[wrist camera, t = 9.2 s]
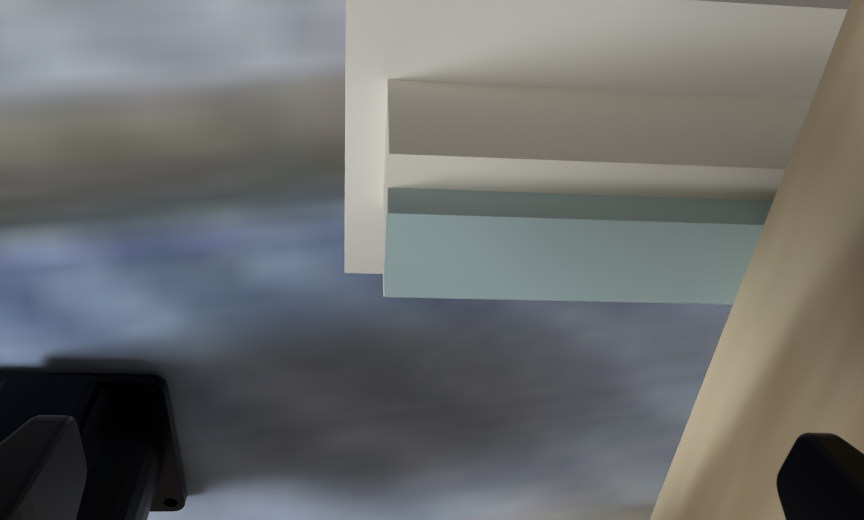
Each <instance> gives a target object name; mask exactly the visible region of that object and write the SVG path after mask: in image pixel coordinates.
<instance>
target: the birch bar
mask: <svg viewBox="0 0 864 520" xmlns="http://www.w3.org/2000/svg"><path fill="white" fill-rule="evenodd" d="M807 432H812V433H832V434H835V435H838V436H839V437H841V438H842V439H844V440H845V441H846V442H848V443H849V444H851V445H852V446H853V447H855V448H856V449H858V450H859V451H860V452H862V453H863V454H864V0H851V2H850V4H849V7H848V10H847V12H846V15H845V17H844V20H843V23H842V25H841V28H840V30H839V33H838V35H837V38H836V41H835V43H834V46H833V48H832V51H831V53H830V56H829V59H828V61H827V64H826V66H825V69H824V72H823V74H822V77H821V79H820V82H819V84H818V87H817V90H816V92H815V95H814V97H813V100H812V102H811V105H810V108H809V110H808V113H807V115H806V118H805V120H804V123H803V126H802V128H801V131H800V133H799V136H798V139H797V141H796V144H795V146H794V149H793V151H792V154H791V157H790V159H789V162H788V164H787V167H786V169H785V172H784V175H783V177H782V180H781V182H780V185H779V188H778V190H777V193H776V195H775V198H774V200H773V203H772V206H771V208H770V211H769V213H768V216H767V218H766V221H765V224H764V226H763V229H762V231H761V234H760V237H759V239H758V242H757V244H756V247H755V249H754V252H753V255H752V257H751V260H750V262H749V265H748V267H747V270H746V273H745V275H744V278H743V280H742V283H741V285H740V288H739V291H738V293H737V296H736V298H735V301H734V304H733V306H732V309H731V311H730V314H729V316H728V319H727V322H726V324H725V327H724V329H723V332H722V334H721V337H720V340H719V342H718V345H717V347H716V350H715V352H714V355H713V358H712V360H711V363H710V365H709V368H708V371H707V373H706V376H705V378H704V381H703V383H702V386H701V389H700V391H699V394H698V396H697V399H696V401H695V404H694V407H693V409H692V412H691V414H690V417H689V419H688V422H687V425H686V427H685V430H684V432H683V435H682V438H681V440H680V443H679V445H678V448H677V450H676V453H675V456H674V458H673V461H672V463H671V466H670V468H669V471H668V474H667V476H666V479H665V481H664V484H663V487H662V489H661V492H660V494H659V497H658V499H657V502H656V505H655V507H654V510H653V512H652V515H651V517H650V520H786V518H785V515H784V512H783V509H782V506H781V502H780V499H779V496H778V492H777V485H776V481H777V474H778V472H779V470H780V468H781V466H782V464H783V462H784V461H785V459H786V457H787V455H788V453H789V451H790V450H791V448H792V446H793V444H794V442H795V441H796V439H797V438H798V437H799V436H800V435H801V434H803V433H807Z"/></svg>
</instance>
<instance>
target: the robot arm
mask: <svg viewBox="0 0 864 520" xmlns="http://www.w3.org/2000/svg"><path fill="white" fill-rule="evenodd" d="M146 388H149V389H152V390H154V391H151V390H148V389H146ZM776 485H777V492H778V496H779V499H780V502H781V506H782V509H783V512H784V515H785V518H786V520H864V454H863V453H862V452H860V451H859V450H858V449H856V448H855V447H853V446H852V445H851V444H849V443H848V442H846V441H845V440H844V439H842V438H841V437H839V436H838V435H835V434H832V433H812V432H807V433H803V434H801V435H800V436H799V437H798V438H797V439H796V441H795V442H794V444H793V446H792V448H791V450H790V451H789V453H788V455H787V457H786V459H785V461H784V462H783V464H782V466H781V468H780V470H779V472H778V474H777V481H776ZM186 498H187V490H186V484H185V479H184V473H183V468H182V462H181V457H180V451H179V446H178V440H177V435H176V430H175V424H174V419H173V413H172V408H171V402H170V397H169V391H168V386H167V383H166V381H165V380H164V379H163V378H161V377H159V376H157V375H154V374H119V373H30V372H0V520H147V518H148V515H149V511H178V510H180V509H182V508H183V507H184V506H185V502H186Z"/></svg>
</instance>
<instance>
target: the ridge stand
mask: <svg viewBox="0 0 864 520" xmlns="http://www.w3.org/2000/svg"><path fill="white" fill-rule="evenodd" d="M850 2H851V0H346V80H345V269H344V273H366V274H383V297H403V298H451V299H498V300H545V301H593V302H640V303H688V304H734V301H735V298H736V296H737V293H738V291H739V288H740V285H741V283H742V280H743V278H744V275H745V273H746V270H747V267H748V265H749V262H750V260H751V257H752V255H753V252H754V249H755V247H756V244H757V242H758V239H759V237H760V234H761V231H762V229H763V226H764V224H765V221H766V218H767V216H768V213H769V211H770V208H771V206H772V203H773V200H774V198H775V195H776V193H777V190H778V188H779V185H780V182H781V180H782V177H783V175H784V172H785V169H786V167H787V164H788V162H789V159H790V157H791V154H792V151H793V149H794V146H795V144H796V141H797V139H798V136H799V133H800V131H801V128H802V126H803V123H804V120H805V118H806V115H807V113H808V110H809V108H810V105H811V102H812V100H813V97H814V95H815V92H816V90H817V87H818V84H819V82H820V79H821V77H822V74H823V72H824V69H825V66H826V64H827V61H828V59H829V56H830V53H831V51H832V48H833V46H834V43H835V41H836V38H837V35H838V33H839V30H840V28H841V25H842V23H843V20H844V17H845V15H846V12H847V10H848V7H849V4H850Z"/></svg>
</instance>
